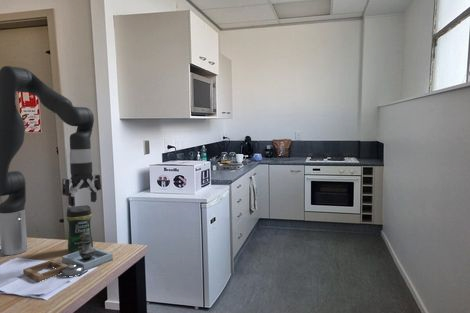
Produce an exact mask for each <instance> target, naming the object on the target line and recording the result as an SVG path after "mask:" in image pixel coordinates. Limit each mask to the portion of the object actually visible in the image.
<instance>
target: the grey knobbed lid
mask: <svg viewBox="0 0 470 313" xmlns="http://www.w3.org/2000/svg"><path fill="white" fill-rule="evenodd" d="M81 273H82V274H83V273H85V271H84V266H82V265H79V264H71V265H69V266H68V267H65V268H62V274H61V277H63V276H66V277H65V278H70V277H69V276H75V275H78V274H80V275H82V274H81ZM78 276H79V275H78ZM75 277H76V276H75Z"/></svg>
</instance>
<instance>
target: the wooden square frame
mask: <svg viewBox="0 0 470 313" xmlns="http://www.w3.org/2000/svg"><path fill="white" fill-rule="evenodd" d="M68 266H69V265H67V264H64V263H62V261H61V262H60V261H58V260H56V259H51V260H47V261H45V262H42V263H38V264H35V265H32V266H28V267H26V268H24V269H22V271H23V272H22V273H23V276H25V277H26V278H27V277H28V278H29V279H32V280H33V279H34V281H35V280H36V282H37V281H38V282H37V283H41V282H43V281H42V280H44V281H46V280H49V279H51V278H50V277H52V278H54V277H56V276H55V275H57V276H59V275H58V274H60V273H62V268H65V267H68ZM49 267H50V268H52V269H50V270H47V271H45V272H41V271H44V270H46V269H49ZM53 267H54V268H53ZM55 268H56V269H55ZM43 269H44V270H43ZM40 272H41V273H40ZM60 275H61V274H60ZM53 276H54V277H53ZM48 278H49V279H48ZM45 279H46V280H45ZM40 281H41V282H40Z"/></svg>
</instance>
